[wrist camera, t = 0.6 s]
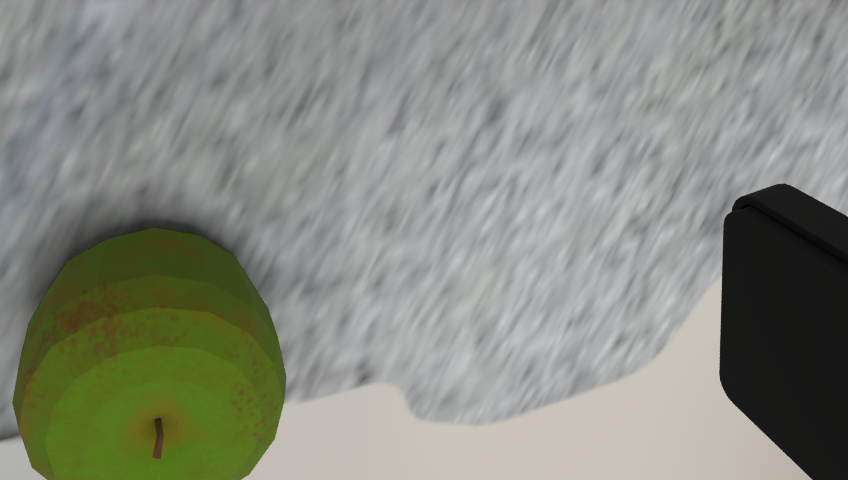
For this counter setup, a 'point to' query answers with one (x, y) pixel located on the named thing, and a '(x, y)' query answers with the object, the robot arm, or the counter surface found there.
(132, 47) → the counter surface
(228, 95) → the counter surface
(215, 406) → the apple
